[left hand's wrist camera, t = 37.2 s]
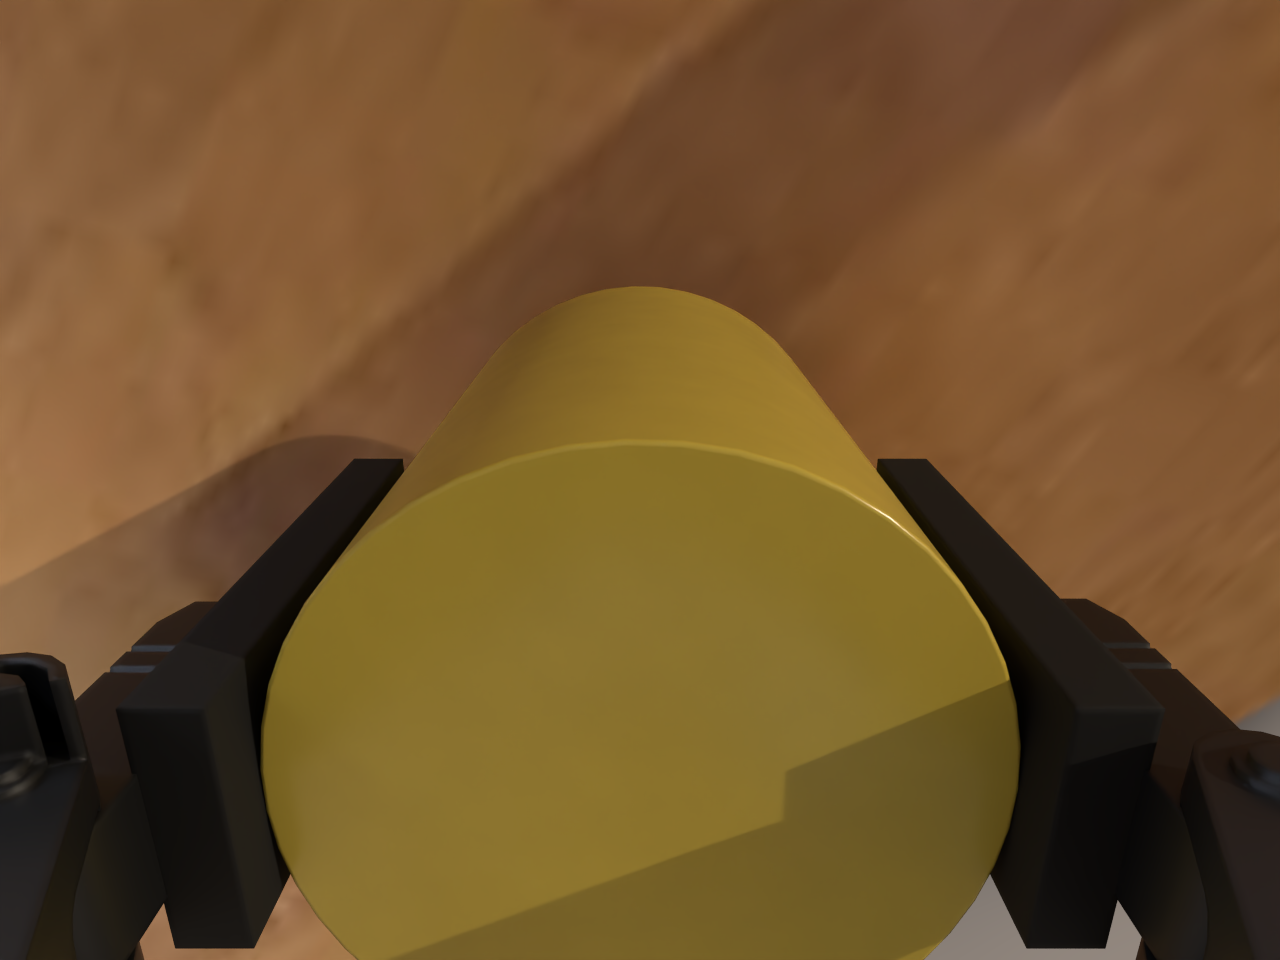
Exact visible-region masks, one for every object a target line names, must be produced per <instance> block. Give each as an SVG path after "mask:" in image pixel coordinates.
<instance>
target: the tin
mask: <svg viewBox="0 0 1280 960" xmlns="http://www.w3.org/2000/svg"><path fill="white" fill-rule="evenodd" d="M1020 750H1021V743H1020V733H1019V723H1018V713H1017V703H1016V700H1015V696H1014V692H1013V688H1012V685H1011V681H1010V677H1009V674H1008V670H1007V666H1006V662H1005V660H1004V658H1003V656H1002V653H1001V651H1000V649H999V647H998V645H997V642H996V640H995V638H994V636H993V633H992V631H991V629H990V627H989V625H988V622H987V621H986V619H985V617H984V616H983V614H982V613H981V611H980V610H979V608H978V607H977V605H976V604H975V602H974V601H973V599H972V598H971V596H970V595H969V593H968V592H967V590H966V589H965V587H964V586H963V584H962V583H961V581H960V580H959V579H958V577H957V576H956V575H955V573H954V572H953V571H952V569H951V568H950V567H949V565H948V564H947V563H946V562H945V560H944V559H943V558H942V556H941V555H940V554H939V552H938V551H937V550H936V548H935V547H934V546H933V544H932V543H931V542H930V541H929V539H928V538H927V537H926V535H925V534H924V533H923V531H922V530H921V529H920V527H919V526H918V525H917V523H916V522H915V521H914V520H913V518H912V517H911V516H910V514H909V513H908V512H907V510H906V509H905V508H904V506H903V505H902V504H901V502H900V501H899V500H898V498H897V497H896V496H895V495H894V493H893V492H892V491H891V489H890V488H889V487H888V485H887V484H886V483H885V481H884V480H883V479H882V477H881V476H880V475H879V474H878V472H877V471H876V470H875V468H874V467H873V466H872V464H871V463H870V462H869V460H868V459H867V458H866V456H865V455H864V454H863V452H862V451H861V450H860V449H859V447H858V446H857V445H856V443H855V442H854V441H853V439H852V438H851V437H850V435H849V434H848V433H847V431H846V430H845V429H844V428H843V426H842V425H841V424H840V422H839V421H838V420H837V418H836V417H835V416H834V414H833V413H832V412H831V410H830V409H829V408H828V407H827V405H826V404H825V403H824V401H823V400H822V399H821V397H820V396H819V395H818V393H817V392H816V391H815V389H814V388H813V387H812V385H811V384H810V383H809V382H808V380H807V379H806V378H805V376H804V375H803V374H802V372H801V371H800V370H799V368H798V367H797V366H796V364H795V363H794V362H793V361H792V359H791V358H790V357H789V356H788V355H787V353H786V352H785V351H784V350H783V349H782V348H781V347H780V346H779V344H778V343H777V342H776V341H775V340H774V339H773V338H772V337H770V336H769V335H768V334H767V333H766V332H765V331H763V330H762V329H761V328H760V327H759V326H757V325H756V324H755V323H754V322H752V321H750V320H749V319H747V318H746V317H744V316H743V315H741V314H739V313H738V312H736V311H735V310H733V309H731V308H729V307H726V306H724V305H722V304H720V303H718V302H716V301H713V300H711V299H709V298H705V297H702V296H699V295H696V294H692V293H689V292H686V291H680V290H674V289H668V288H662V287H641V286H631V287H621V288H611V289H605V290H601V291H596V292H592V293H588V294H584V295H580V296H578V297H575V298H573V299H570V300H568V301H565V302H562V303H560V304H557V305H555V306H554V307H552V308H550V309H548V310H546V311H545V312H543V313H541V314H539V315H537V316H536V317H534V318H533V319H531V320H530V321H529V322H527V323H526V324H525V325H523V326H522V327H521V328H519V329H518V330H517V331H515V332H514V333H513V334H512V335H511V336H510V337H509V338H508V339H507V340H506V341H505V342H504V343H503V344H502V345H501V346H500V347H499V348H498V349H497V350H496V351H495V353H494V354H493V355H492V356H491V358H490V359H489V360H488V362H487V363H486V364H485V366H484V367H483V368H482V370H481V371H480V372H479V373H478V375H477V376H476V377H475V379H474V380H473V381H472V383H471V384H470V385H469V387H468V388H467V389H466V391H465V392H464V393H463V395H462V396H461V397H460V399H459V400H458V401H457V403H456V404H455V405H454V407H453V408H452V409H451V410H450V412H449V413H448V414H447V416H446V417H445V418H444V420H443V421H442V422H441V424H440V425H439V426H438V428H437V429H436V430H435V432H434V433H433V434H432V436H431V437H430V438H429V440H428V441H427V442H426V443H425V445H424V446H423V447H422V449H421V450H420V451H419V453H418V454H417V455H416V457H415V458H414V459H413V461H412V462H411V463H410V465H409V466H408V467H407V469H406V470H405V471H404V473H403V474H402V475H401V476H400V478H399V479H398V480H397V482H396V483H395V484H394V486H393V487H392V488H391V490H390V491H389V492H388V494H387V495H386V496H385V498H384V499H383V500H382V502H381V503H380V504H379V506H378V507H377V508H376V509H375V511H374V512H373V513H372V515H371V516H370V517H369V519H368V520H367V521H366V523H365V524H364V525H363V527H362V528H361V529H360V531H359V532H358V533H357V535H356V536H355V537H354V539H353V540H352V541H351V542H350V544H349V545H348V546H347V548H346V549H345V550H344V552H343V553H342V554H341V556H340V557H339V558H338V560H337V561H336V562H335V564H334V565H333V566H332V568H331V569H330V570H329V572H328V573H327V574H326V575H325V577H324V578H323V579H322V581H321V582H320V583H319V585H318V586H317V587H316V589H315V590H314V591H313V593H312V594H311V595H310V597H309V598H308V599H307V601H306V602H305V603H304V605H303V607H302V609H301V611H300V612H299V614H298V616H297V618H296V620H295V622H294V624H293V625H292V627H291V629H290V631H289V633H288V635H287V636H286V638H285V640H284V642H283V644H282V647H281V650H280V653H279V656H278V658H277V661H276V664H275V667H274V670H273V673H272V675H271V678H270V681H269V684H268V689H267V695H266V701H265V706H264V712H263V718H262V723H261V776H262V783H263V790H264V796H265V803H266V810H267V813H268V816H269V820H270V823H271V826H272V829H273V832H274V836H275V839H276V842H277V845H278V848H279V850H280V853H281V855H282V857H283V859H284V861H285V863H286V865H287V867H288V869H289V871H290V873H291V875H292V877H293V879H294V882H295V884H296V885H297V887H298V888H299V890H300V891H301V893H302V894H303V896H304V897H305V899H306V900H307V902H308V903H309V905H310V906H311V908H312V909H313V911H314V912H315V914H316V915H317V917H318V918H319V919H320V921H321V922H322V923H323V924H324V925H325V926H326V927H327V929H328V930H329V931H330V932H331V933H332V934H333V935H334V937H335V938H336V939H337V940H338V941H339V942H340V943H341V945H342V946H343V947H344V948H345V949H346V950H347V951H348V952H349V953H351V954H352V955H353V956H354V957H355V958H356V959H357V960H924V959H925V958H926V957H927V956H928V955H929V954H930V953H931V952H932V951H933V950H934V949H935V948H936V947H937V946H938V945H939V944H940V943H941V942H942V941H943V940H944V939H945V938H946V937H947V936H948V935H949V934H950V932H951V931H952V930H953V929H954V927H955V926H956V925H957V923H958V922H959V921H960V919H961V918H962V917H963V915H964V914H965V913H966V911H967V910H968V909H969V908H970V906H971V905H972V904H973V902H974V901H975V899H976V898H977V896H978V894H979V892H980V891H981V889H982V887H983V885H984V883H985V882H986V880H987V878H988V876H989V875H990V873H991V871H992V869H993V868H994V866H995V863H996V861H997V858H998V856H999V853H1000V851H1001V848H1002V845H1003V843H1004V840H1005V838H1006V835H1007V833H1008V830H1009V827H1010V823H1011V818H1012V814H1013V809H1014V805H1015V800H1016V796H1017V791H1018V782H1019V766H1020Z"/></svg>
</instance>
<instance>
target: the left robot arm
mask: <svg viewBox="0 0 1280 960" xmlns="http://www.w3.org/2000/svg"><path fill="white" fill-rule="evenodd" d="M877 472H878V474H879V475H880V476H881V477H882V479H883V480H884V481H885V483H886V484H887V485H888V487H889V488H890V489H891V491H892V492H893V493H894V495H895V496H896V497H897V498H898V500H899V501H900V502H901V504H902V505H903V506H904V508H905V509H906V510H907V512H908V513H909V514H910V516H911V517H912V518H913V520H914V521H915V522H916V523H917V525H918V526H919V527H920V529H921V530H922V531H923V533H924V534H925V535H926V537H927V538H928V539H929V541H930V542H931V543H932V544H933V546H934V547H935V548H936V550H937V551H938V552H939V554H940V555H941V556H942V558H943V559H944V560H945V562H946V563H947V564H948V565H949V567H950V568H951V569H952V571H953V572H954V573H955V575H956V576H957V577H958V579H959V580H960V581H961V583H962V584H963V586H964V587H965V589H966V590H967V592H968V593H969V595H970V596H971V598H972V599H973V601H974V602H975V604H976V605H977V607H978V608H979V610H980V611H981V613H982V614H983V616H984V617H985V619H986V621H987V622H988V625H989V627H990V629H991V631H992V633H993V636H994V638H995V640H996V642H997V645H998V647H999V649H1000V651H1001V653H1002V656H1003V658H1004V660H1005V662H1006V666H1007V670H1008V674H1009V677H1010V681H1011V685H1012V688H1013V692H1014V696H1015V700H1016V703H1017V713H1018V723H1019V733H1020V743H1021V750H1020V766H1019V782H1018V791H1017V796H1016V800H1015V805H1014V809H1013V814H1012V818H1011V823H1010V827H1009V830H1008V833H1007V835H1006V838H1005V840H1004V843H1003V845H1002V848H1001V851H1000V853H999V856H998V858H997V861H996V863H995V866H994V868H993V869H992V871H991V873H990V875H991V877H992V879H993V881H994V883H995V885H996V887H997V889H998V891H999V893H1000V895H1001V897H1002V899H1003V901H1004V903H1005V905H1006V907H1007V909H1008V911H1009V914H1010V915H1011V918H1012V920H1013V922H1014V924H1015V926H1016V928H1017V930H1018V932H1019V934H1020V936H1021V938H1022V940H1023V942H1024V944H1025V946H1026V948H1098V949H1100V948H1104V949H1105V948H1106V944H1107V940H1108V936H1109V932H1110V928H1111V924H1112V920H1113V916H1114V912H1115V908H1116V904H1117V900H1118V901H1119V902H1120V904H1121V905H1122V907H1123V909H1124V910H1125V912H1126V913H1127V915H1128V916H1129V918H1130V919H1131V921H1132V923H1133V924H1134V925H1135V927H1136V929H1137V930H1138V932H1139V933H1140V935H1141V936H1142V938H1141V942H1140V946H1139V949H1138V953H1137V957H1136V960H1280V737H1279V736H1275V735H1271V734H1268V733H1264V732H1258V731H1249V730H1240V729H1239V728H1238V727H1237V726H1236V725H1235V724H1234V723H1233V722H1232V721H1231V720H1230V719H1229V718H1228V717H1227V716H1226V715H1224V714H1223V713H1222V712H1221V711H1220V710H1219V709H1218V708H1217V707H1216V706H1215V705H1214V704H1213V703H1212V702H1211V701H1210V700H1209V699H1208V698H1207V697H1206V696H1204V695H1203V694H1202V693H1201V692H1200V691H1199V690H1198V689H1197V688H1196V687H1195V686H1194V685H1193V684H1192V683H1191V682H1190V681H1189V680H1188V679H1187V678H1185V677H1184V676H1183V675H1182V674H1181V673H1180V672H1179V671H1178V670H1177V669H1172V668H1171V663H1170V662H1169V661H1168V660H1167V659H1165V658H1164V657H1163V656H1162V655H1161V654H1160V653H1159V652H1158V651H1157V650H1156V649H1155V648H1150V643H1149V642H1148V641H1147V640H1145V639H1144V638H1143V637H1142V636H1141V635H1140V634H1139V633H1138V632H1137V631H1136V630H1135V629H1134V628H1133V627H1132V626H1131V625H1130V624H1129V623H1128V622H1127V621H1125V620H1124V619H1123V618H1121V617H1119V616H1117V615H1115V614H1113V613H1111V612H1110V611H1108V610H1106V609H1104V608H1102V607H1100V606H1098V605H1097V604H1095V603H1093V602H1091V601H1089V600H1087V599H1060V598H1059V597H1058V596H1057V595H1056V594H1055V593H1054V592H1053V591H1052V590H1051V589H1050V588H1049V587H1048V586H1047V585H1046V584H1045V583H1044V581H1043V580H1042V579H1041V578H1040V577H1039V576H1038V575H1037V574H1036V573H1035V572H1034V571H1033V570H1032V569H1031V568H1030V567H1029V566H1028V565H1027V564H1026V563H1025V562H1024V561H1023V560H1022V558H1021V557H1020V556H1019V555H1018V554H1017V553H1016V552H1015V551H1014V550H1013V549H1012V548H1011V547H1010V546H1009V545H1008V544H1007V543H1006V542H1005V541H1004V540H1003V539H1002V538H1001V537H1000V535H999V534H998V533H997V532H996V531H995V530H994V529H993V528H992V527H991V526H990V525H989V524H988V523H987V522H986V521H985V520H984V519H983V518H982V517H981V516H980V515H979V514H978V512H977V511H976V510H975V509H974V508H973V507H972V506H971V505H970V504H969V503H968V502H967V501H966V500H965V499H964V498H963V497H962V496H961V495H960V494H959V493H958V492H957V491H956V489H955V488H954V487H953V486H952V485H951V484H950V483H949V482H948V481H947V480H946V479H945V478H944V477H943V476H942V475H941V474H940V473H939V472H938V471H937V470H936V469H935V468H934V466H933V465H932V464H931V463H930V462H929V461H928V460H927V459H878V462H877ZM403 473H404V466H403V459H354V460H353V461H352V462H351V463H350V464H349V465H348V466H347V467H346V468H345V469H344V470H343V471H342V472H341V473H340V474H339V475H338V477H337V478H336V479H335V480H334V481H333V482H332V483H331V484H330V485H329V486H328V487H327V488H326V489H325V490H324V491H323V492H322V493H321V494H320V495H319V496H318V497H317V498H316V500H315V501H314V502H313V503H312V504H311V505H310V506H309V507H308V508H307V509H306V510H305V511H304V512H303V513H302V514H301V515H300V516H299V517H298V518H297V519H296V520H295V522H294V523H293V524H292V525H291V526H290V527H289V528H288V529H287V530H286V531H285V532H284V533H283V534H282V535H281V536H280V537H279V538H278V539H277V540H276V541H275V542H274V543H273V545H272V546H271V547H270V548H269V549H268V550H267V551H266V552H265V553H264V554H263V555H262V556H261V557H260V558H259V559H258V560H257V561H256V562H255V563H254V564H253V565H252V566H251V568H250V569H249V570H248V571H247V572H246V573H245V574H244V575H243V576H242V577H241V578H240V579H239V580H238V581H237V582H236V583H235V584H234V585H233V586H232V587H231V588H230V589H229V591H228V592H227V593H226V594H225V595H224V596H223V597H222V598H221V599H220V600H219V601H218V602H194V603H192V604H190V605H188V606H186V607H185V608H183V609H181V610H179V611H177V612H175V613H173V614H172V615H170V616H168V617H166V618H164V619H162V620H161V621H159V622H157V623H156V624H155V625H154V626H153V627H152V628H151V629H150V630H149V631H148V632H147V633H145V634H144V635H143V636H142V637H141V638H140V639H139V640H138V641H137V642H136V643H135V644H134V645H133V646H132V650H131V652H126V653H125V654H124V655H122V656H121V657H120V658H119V659H118V660H117V661H116V662H115V663H114V664H113V665H112V666H111V667H110V672H105V673H104V674H103V675H102V676H101V677H100V678H98V679H97V680H96V681H95V682H94V683H93V684H92V685H91V686H90V687H89V688H88V689H87V690H86V691H85V692H84V693H83V694H82V695H81V696H80V697H79V698H78V699H77V700H74V696H73V692H72V689H71V685H70V681H69V678H68V674H67V670H66V666H65V664H63V663H62V662H60V661H59V660H57V659H56V658H54V657H53V656H51V655H43V654H35V653H28V652H26V653H14V654H3V655H0V960H144V957H143V953H142V949H141V946H140V942H139V941H140V939H141V938H142V936H143V935H144V933H145V931H146V930H147V928H148V927H149V925H150V924H151V922H152V921H153V919H154V917H155V916H156V914H157V913H158V911H159V910H160V908H161V907H162V905H163V903H164V905H165V909H166V913H167V917H168V921H169V925H170V929H171V933H172V937H173V941H174V945H175V948H254V947H255V945H256V943H257V941H258V939H259V937H260V935H261V933H262V931H263V929H264V927H265V925H266V923H267V921H268V919H269V917H270V915H271V913H272V911H273V909H274V907H275V905H276V903H277V900H278V898H279V896H280V894H281V892H282V890H283V888H284V886H285V884H286V882H287V880H288V878H289V876H290V874H291V873H290V871H289V869H288V867H287V865H286V863H285V861H284V859H283V857H282V855H281V853H280V850H279V848H278V845H277V842H276V839H275V836H274V832H273V829H272V826H271V823H270V820H269V816H268V813H267V810H266V803H265V796H264V790H263V783H262V776H261V723H262V718H263V712H264V706H265V701H266V695H267V689H268V684H269V681H270V678H271V675H272V673H273V670H274V667H275V664H276V661H277V658H278V656H279V653H280V650H281V647H282V644H283V642H284V640H285V638H286V636H287V635H288V633H289V631H290V629H291V627H292V625H293V624H294V622H295V620H296V618H297V616H298V614H299V612H300V611H301V609H302V607H303V605H304V603H305V602H306V601H307V599H308V598H309V597H310V595H311V594H312V593H313V591H314V590H315V589H316V587H317V586H318V585H319V583H320V582H321V581H322V579H323V578H324V577H325V575H326V574H327V573H328V572H329V570H330V569H331V568H332V566H333V565H334V564H335V562H336V561H337V560H338V558H339V557H340V556H341V554H342V553H343V552H344V550H345V549H346V548H347V546H348V545H349V544H350V542H351V541H352V540H353V539H354V537H355V536H356V535H357V533H358V532H359V531H360V529H361V528H362V527H363V525H364V524H365V523H366V521H367V520H368V519H369V517H370V516H371V515H372V513H373V512H374V511H375V509H376V508H377V507H378V506H379V504H380V503H381V502H382V500H383V499H384V498H385V496H386V495H387V494H388V492H389V491H390V490H391V488H392V487H393V486H394V484H395V483H396V482H397V480H398V479H399V478H400V476H401V475H402V474H403Z"/></svg>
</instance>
